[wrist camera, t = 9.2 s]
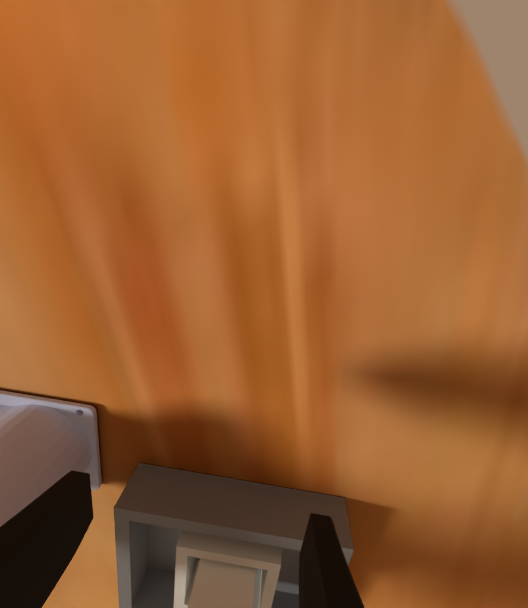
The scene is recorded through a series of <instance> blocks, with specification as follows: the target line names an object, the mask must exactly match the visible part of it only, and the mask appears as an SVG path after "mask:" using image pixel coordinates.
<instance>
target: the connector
mask: <svg viewBox="0 0 528 608" xmlns="http://www.w3.org/2000/svg"><path fill="white" fill-rule="evenodd" d="M255 575H256V568H252V567H246V566H241V565H235V564H230V563H224V562H218V561H213V560H207V559H202V558H200V560H199V564H198V568H197V572H196V576H195V580H194V584H193V588H192V592H191V596H190V600H189V604H188V608H253V597H254V586H255Z"/></svg>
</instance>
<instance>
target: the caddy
mask: <svg viewBox="0 0 528 608" xmlns="http://www.w3.org/2000/svg"><path fill="white" fill-rule="evenodd" d="M311 513H314V514H320V515H325V516H330V517H331V518H332V520H333V523H334V526H335V529H336V533H337V536H338V539H339V542H340V545H341V548H342V551H343V553H344V556H345V559H346V562H347V564H348V565H349V563H350V560H351V557H352V554H353V551H354V547H353V541H352V536H351V530H350V525H349V519H348V514H347V509H346V503H345V498H344V497H338V496H332V495H326V494H320V493H314V492H308V491H303V490H297V489H291V488H285V487H279V486H273V485H267V484H261V483H255V482H250V481H244V480H238V479H232V478H226V477H220V476H214V475H208V474H202V473H197V472H191V471H185V470H179V469H173V468H167V467H161V466H155V465H149V464H144V463H139V464H138V466H137V468H136V469H135V471H134V473H133V475H132V476H131V478H130V480H129V482H128V483H127V485H126V487H125V489H124V491H123V492H122V494H121V496H120V498H119V499H118V501H117V503H116V505H115V506H114V520H115V538H116V556H117V574H118V592H119V608H188V604H189V600H190V596H191V592H192V588H193V584H194V580H195V576H196V572H197V568H198V564H199V560H200V558H202V559H207V560H213V561H218V562H224V563H230V564H235V565H241V566H246V567H252V568H256V575H255V586H254V597H253V608H299V554H300V551H301V547H302V543H303V539H304V536H305V532H306V528H307V525H308V521H309V517H310V514H311Z"/></svg>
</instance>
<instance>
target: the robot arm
mask: <svg viewBox="0 0 528 608" xmlns="http://www.w3.org/2000/svg"><path fill="white" fill-rule="evenodd" d="M81 410H82V411H83V412H82V411H81ZM101 483H102V481H101V467H100V453H99V439H98V425H97V412H96V409H95V408H94V407H93V406H91V405H86V404H80V403H74V402H68V401H62V400H56V399H50V398H44V397H38V396H32V395H26V394H20V393H13V392H7V391H1V390H0V608H42V606H43V605H44V603H45V601H46V600H47V598H48V597H49V595H50V593H51V592H52V590H53V589H54V587H55V586H56V584H57V582H58V581H59V579H60V577H61V576H62V574H63V573H64V571H65V569H66V568H67V566H68V565H69V563H70V561H71V560H72V558H73V556H74V555H75V553H76V551H77V549H78V547H79V545H80V543H81V541H82V539H83V537H84V535H85V533H86V531H87V529H88V527H89V525H90V523H91V521H92V519H93V508H92V495H91V489H92V490H96V489H98V488H99V487H100V486H101ZM299 608H364V605H363V603H362V600H361V598H360V596H359V593H358V591H357V588H356V586H355V583H354V580H353V578H352V575H351V573H350V570H349V567H348V564H347V562H346V559H345V556H344V553H343V551H342V548H341V545H340V542H339V539H338V536H337V533H336V529H335V526H334V523H333V520H332V518H331V517H330V516H325V515H320V514H314V513H311V514H310V517H309V521H308V525H307V528H306V532H305V536H304V539H303V543H302V547H301V551H300V554H299Z"/></svg>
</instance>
